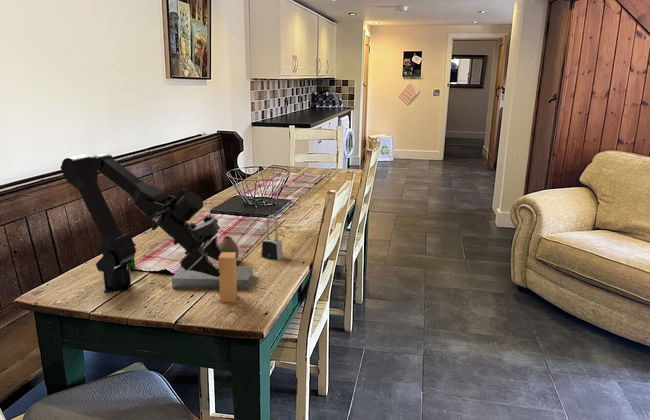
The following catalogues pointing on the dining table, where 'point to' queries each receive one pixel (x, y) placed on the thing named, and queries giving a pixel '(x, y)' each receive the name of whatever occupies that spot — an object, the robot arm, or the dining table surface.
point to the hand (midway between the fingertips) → (222, 268)
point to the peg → (227, 277)
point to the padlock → (272, 244)
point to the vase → (228, 245)
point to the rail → (210, 278)
